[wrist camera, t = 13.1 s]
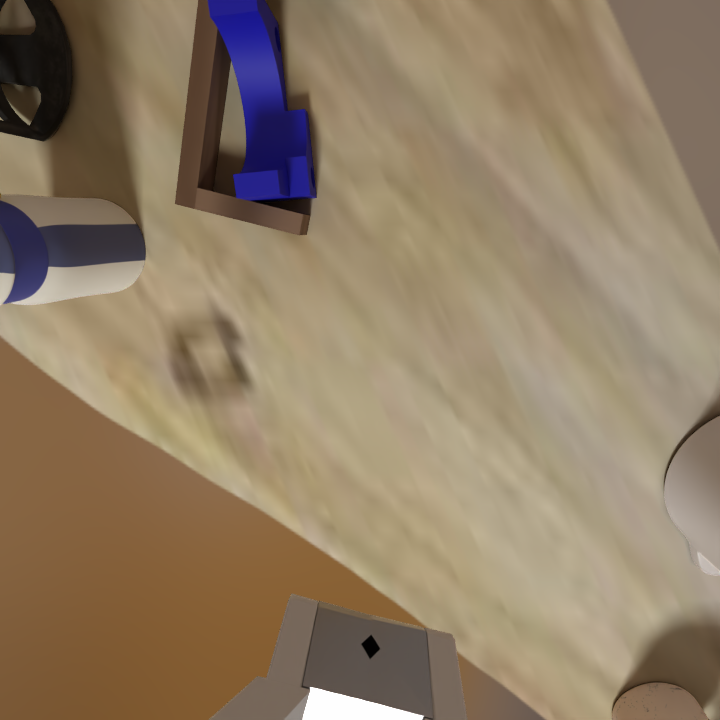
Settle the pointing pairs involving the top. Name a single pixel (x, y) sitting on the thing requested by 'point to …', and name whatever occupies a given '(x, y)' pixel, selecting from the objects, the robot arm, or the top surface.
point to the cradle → (216, 137)
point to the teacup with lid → (657, 704)
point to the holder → (37, 72)
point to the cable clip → (265, 106)
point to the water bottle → (65, 248)
